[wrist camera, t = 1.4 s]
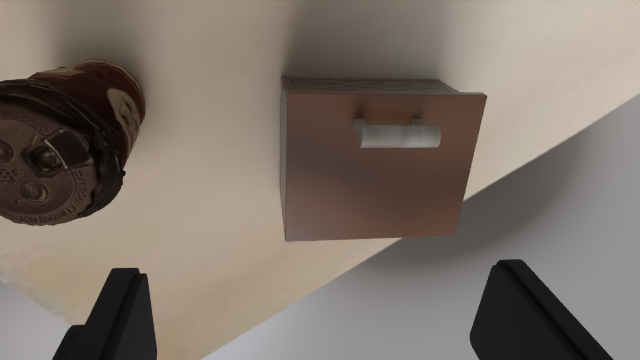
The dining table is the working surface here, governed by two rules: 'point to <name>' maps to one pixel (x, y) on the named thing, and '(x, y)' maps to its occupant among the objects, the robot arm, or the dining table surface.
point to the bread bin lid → (377, 162)
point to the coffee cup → (66, 141)
